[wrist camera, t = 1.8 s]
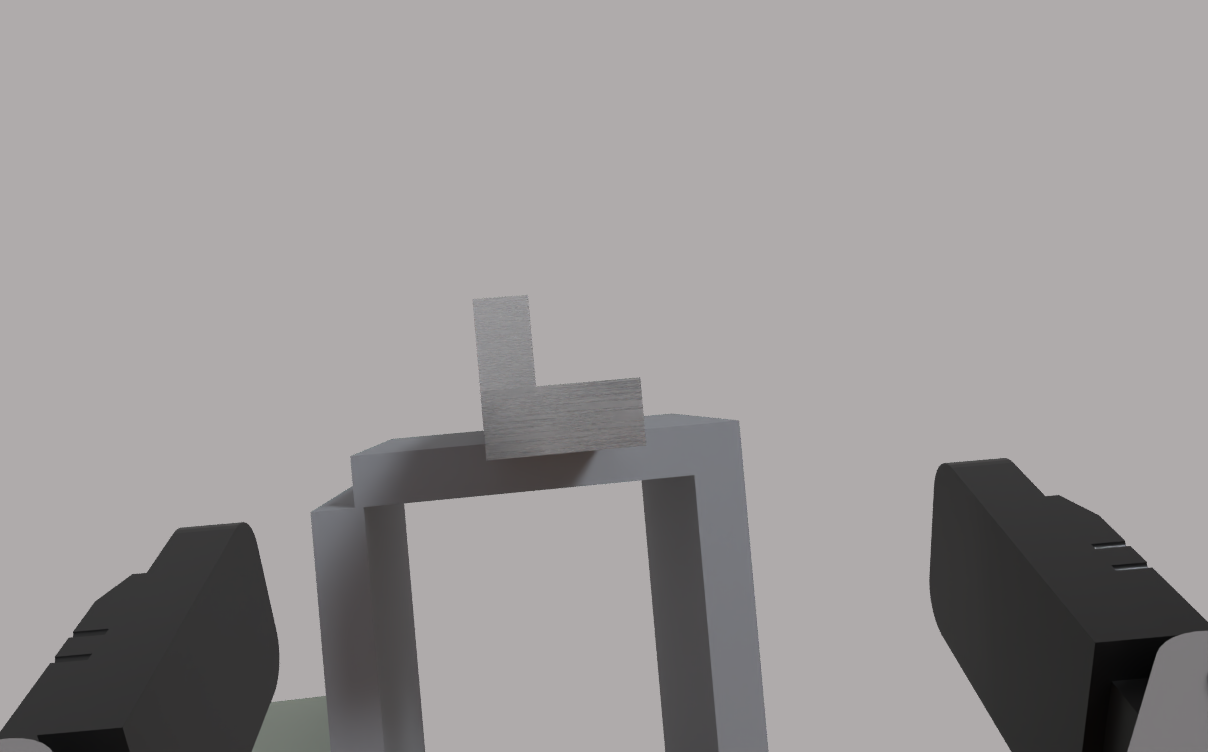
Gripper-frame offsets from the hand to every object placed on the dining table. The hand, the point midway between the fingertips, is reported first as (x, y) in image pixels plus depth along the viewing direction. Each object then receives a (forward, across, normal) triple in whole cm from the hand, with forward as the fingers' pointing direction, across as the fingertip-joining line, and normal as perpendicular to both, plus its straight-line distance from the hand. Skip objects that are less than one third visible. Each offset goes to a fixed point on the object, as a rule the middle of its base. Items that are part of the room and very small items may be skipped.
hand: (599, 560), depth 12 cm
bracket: (+19, +1, +7) cm, 20 cm away
